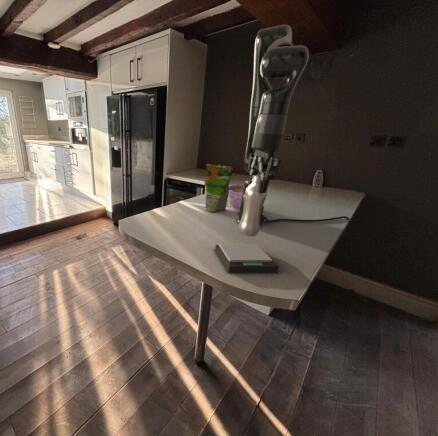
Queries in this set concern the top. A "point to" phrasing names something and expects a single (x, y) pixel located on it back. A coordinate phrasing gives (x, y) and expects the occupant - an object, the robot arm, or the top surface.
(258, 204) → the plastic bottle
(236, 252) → the scale
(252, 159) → the robot arm
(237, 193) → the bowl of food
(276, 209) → the top surface
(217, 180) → the pouch
